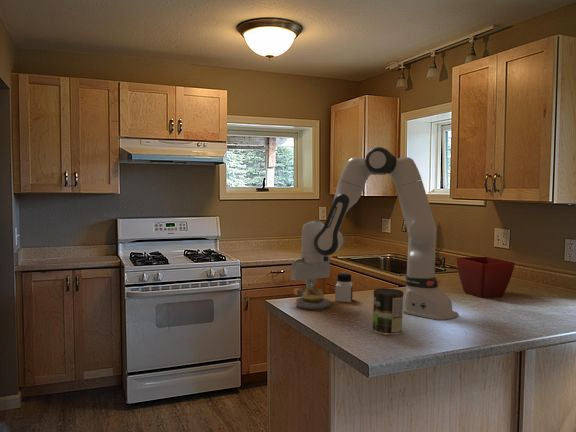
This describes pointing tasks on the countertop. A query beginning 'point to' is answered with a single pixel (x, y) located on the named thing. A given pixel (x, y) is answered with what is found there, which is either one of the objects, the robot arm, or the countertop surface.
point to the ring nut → (310, 294)
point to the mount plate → (312, 304)
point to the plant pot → (484, 275)
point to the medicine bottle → (343, 288)
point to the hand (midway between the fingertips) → (309, 289)
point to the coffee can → (387, 311)
